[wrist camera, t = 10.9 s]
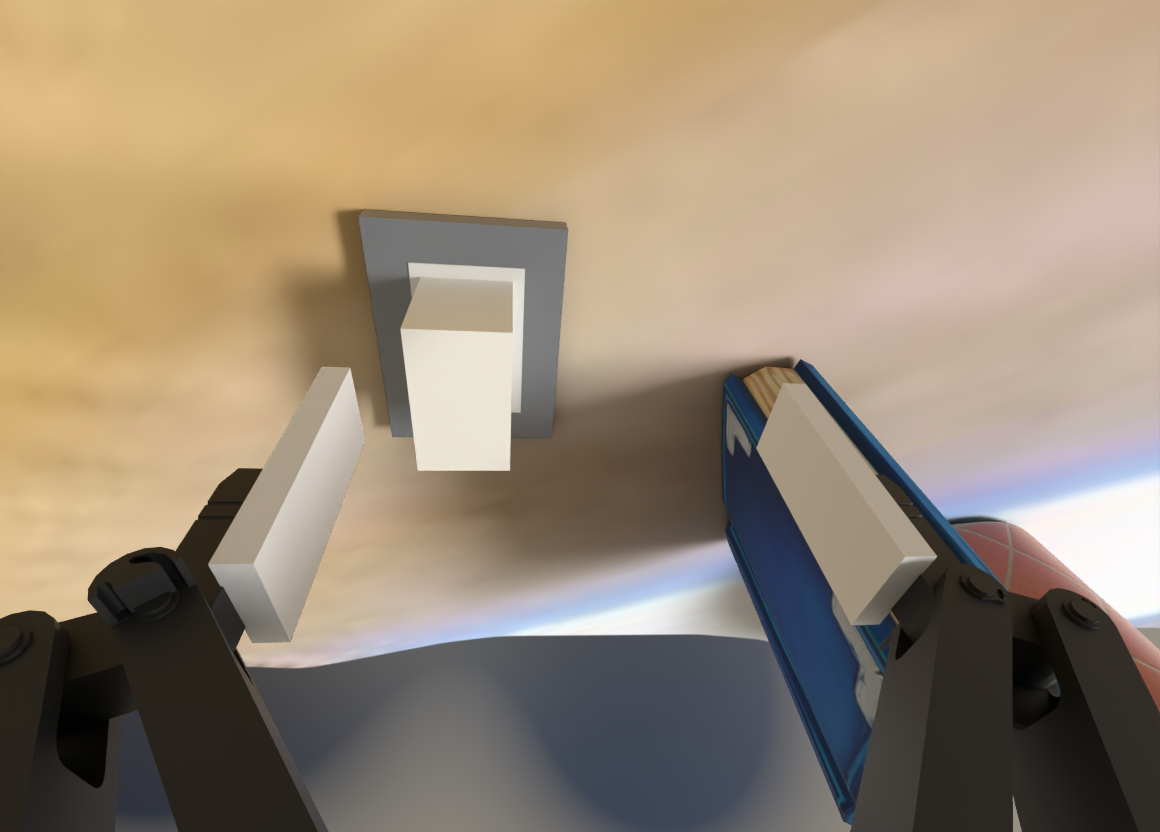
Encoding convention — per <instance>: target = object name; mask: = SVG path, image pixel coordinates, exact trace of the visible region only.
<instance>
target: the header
mask: <svg viewBox="0 0 1160 832" xmlns="http://www.w3.org/2000/svg"><path fill="white" fill-rule="evenodd" d="M358 219H359V226H360V232H361V239H362V245H363V252H364V258H365V264H366V271H367V277H368V284H369V290H370V297H371V303H372V309H373V316H374V322H375V329H376V335H377V342H378V348H379V354H380V361H381V367H382V374H383V380H384V387H385V393H386V399H387V406H388V412H389V419H390V425H391V431H392V437H414V436H413V428H412V419H411V411H410V403H409V395H408V387H407V379H406V370H405V362H404V354H403V346H402V338H401V330H400V328H401V326H402V323H403V321H404V318H405V316H406V313H407V310H408V308H409V305H410V303H411V300H412V298H413V295H414V292H415V290H416V287H417V285H418V282H419V280H420V277H433V278H453V279H473V280H492V281H512V282H513V340H512V392H511V438H552V430H553V417H554V404H555V391H556V379H557V366H558V353H559V340H560V327H561V314H562V302H563V289H564V276H565V263H566V250H567V237H568V228H567V224H566V223H562V222H547V221H532V220H517V219H502V218H487V217H472V216H457V215H442V214H427V213H412V212H397V211H382V210H367V209H364V210H363V211H362V212H361V214H360V215H359V216H358Z"/></svg>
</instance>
